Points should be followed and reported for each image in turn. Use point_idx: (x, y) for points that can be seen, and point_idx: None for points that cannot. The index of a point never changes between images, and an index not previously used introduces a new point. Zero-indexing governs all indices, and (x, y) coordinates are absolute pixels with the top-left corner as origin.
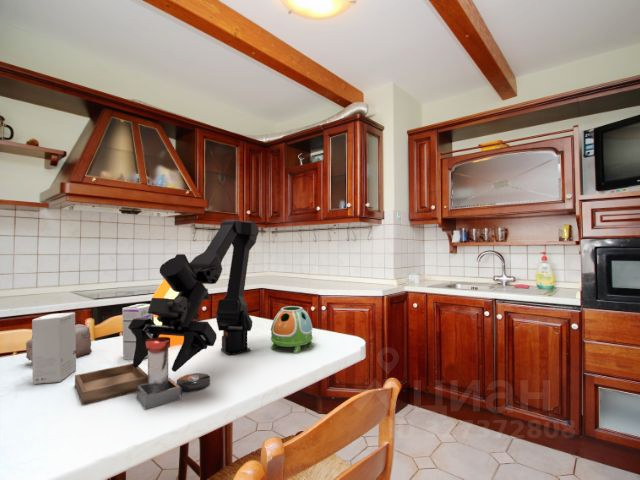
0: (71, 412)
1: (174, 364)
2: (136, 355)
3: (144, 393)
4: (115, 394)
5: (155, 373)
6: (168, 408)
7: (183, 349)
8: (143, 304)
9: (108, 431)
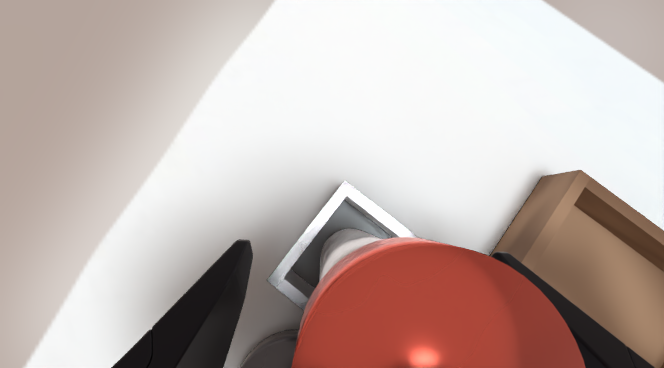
0: (531, 135)
1: (230, 257)
2: (551, 300)
3: (364, 201)
4: (501, 245)
5: (350, 240)
6: (277, 205)
7: (136, 362)
8: None
9: (352, 68)
